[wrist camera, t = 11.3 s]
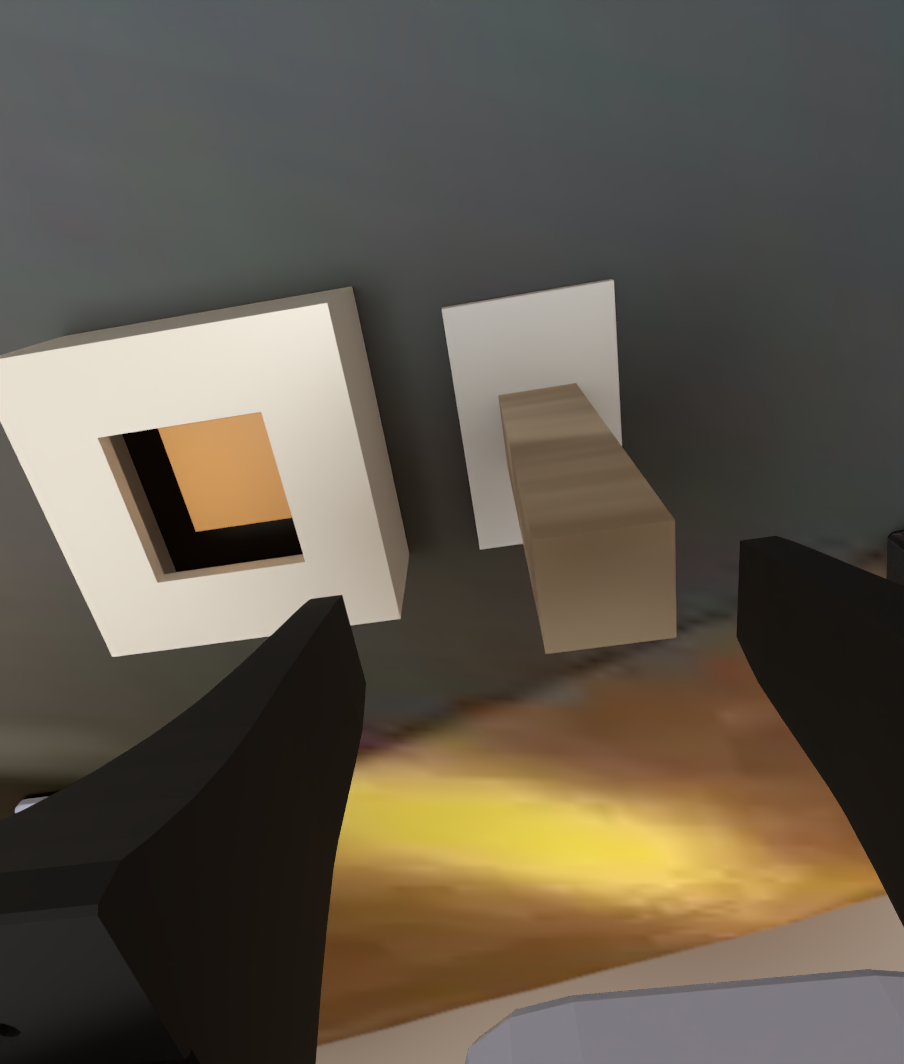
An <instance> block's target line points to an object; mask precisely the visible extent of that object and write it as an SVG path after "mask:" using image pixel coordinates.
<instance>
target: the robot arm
mask: <svg viewBox="0 0 904 1064" xmlns="http://www.w3.org/2000/svg"><path fill="white" fill-rule="evenodd" d="M737 639H738V641H739V643H740V645H741V647H742V650H743V652H744V654H745V656H746V658H747V660H748V663H749V665H750V667H751V669H752V671H753V673H754V675H755V677H756V679H757V681H758V683H759V684H760V686H761V687H762V689H763V690H764V692H765V693H766V695H767V697H768V698H769V700H770V701H771V703H772V704H773V706H774V707H775V709H776V710H777V712H778V713H779V715H780V716H781V718H782V719H783V721H784V722H785V724H786V725H787V726H788V728H789V729H790V731H791V732H792V734H793V735H794V737H795V738H796V740H797V741H798V743H799V744H800V746H801V747H802V749H803V750H804V751H805V753H806V754H807V756H808V757H809V759H810V760H811V762H812V763H813V765H814V766H815V768H816V769H817V771H818V772H819V774H820V775H821V777H822V778H823V780H824V781H825V782H826V784H827V785H828V787H829V788H830V790H831V792H832V793H833V795H834V797H835V798H836V800H837V801H838V803H839V805H840V806H841V808H842V810H843V811H844V813H845V815H846V816H847V818H848V820H849V822H850V824H851V826H852V828H853V830H854V831H855V833H856V835H857V837H858V839H859V841H860V843H861V845H862V846H863V848H864V850H865V852H866V854H867V856H868V858H869V859H870V861H871V863H872V865H873V867H874V869H875V871H876V873H877V875H878V877H879V879H880V881H881V883H882V885H883V887H884V889H885V891H886V893H887V895H888V897H889V899H890V900H891V903H892V904H893V906H894V908H895V911H896V913H897V914H898V917H899V918H900V920H901V922H902V924H903V926H904V586H903V585H900V584H898V583H895V582H892V581H890V580H887V579H885V578H882V577H880V576H877V575H875V574H872V573H870V572H867V571H865V570H862V569H860V568H857V567H855V566H853V565H850V564H848V563H845V562H843V561H840V560H838V559H836V558H833V557H831V556H828V555H826V554H823V553H821V552H819V551H816V550H814V549H811V548H809V547H806V546H804V545H801V544H798V543H796V542H793V541H790V540H787V539H784V538H781V537H777V536H772V537H765V538H758V539H750V540H743V541H740V560H739V586H738V612H737ZM365 688H366V682H365V678H364V674H363V671H362V667H361V663H360V659H359V656H358V652H357V648H356V644H355V641H354V637H353V633H352V630H351V626H350V622H349V618H348V615H347V611H346V607H345V603H344V600H343V596H342V595H336V596H329V597H321V598H314V599H310V600H308V601H307V602H306V603H305V604H304V605H302V606H301V607H300V608H299V609H298V610H297V611H296V612H295V613H294V614H293V615H292V616H291V617H290V618H289V619H288V620H287V621H286V622H285V623H284V624H283V625H281V626H280V627H279V628H278V629H277V630H276V631H275V632H274V633H273V634H272V635H271V636H270V637H269V638H268V639H267V640H266V641H265V642H264V643H263V644H262V645H261V646H260V647H259V648H258V649H257V650H256V651H255V652H254V653H253V654H251V655H250V656H249V657H248V658H247V659H246V660H245V661H244V662H243V663H242V664H241V665H239V666H238V667H237V668H236V669H235V670H234V671H233V672H231V673H230V674H229V675H228V676H227V677H226V678H225V679H223V680H222V681H221V682H220V683H219V684H218V685H217V686H215V687H214V688H213V689H212V690H211V691H210V692H209V693H207V694H206V695H205V696H204V697H202V698H201V699H200V700H199V701H198V702H196V703H195V704H194V705H192V706H191V707H190V708H189V709H187V710H186V711H185V712H183V713H182V714H181V715H179V716H178V717H176V718H175V719H174V720H172V721H171V722H170V723H168V724H167V725H165V726H164V727H163V728H161V729H160V730H159V731H157V732H156V733H154V734H153V735H151V736H150V737H148V738H147V739H145V740H144V741H142V742H140V743H139V744H137V745H136V746H134V747H133V748H131V749H129V750H128V751H126V752H125V753H123V754H121V755H120V756H118V757H117V758H115V759H114V760H112V761H110V762H109V763H107V764H106V765H104V766H102V767H101V768H99V769H98V770H96V771H94V772H93V773H91V774H89V775H87V776H86V777H84V778H82V779H80V780H78V781H77V782H75V783H73V784H71V785H69V786H68V787H66V788H64V789H62V790H60V791H58V792H57V793H55V794H53V795H51V796H48V797H39V798H31V799H24V800H22V801H21V802H20V803H19V804H18V805H17V807H16V808H15V813H16V814H14V815H12V816H10V817H8V818H5V819H3V820H1V821H0V1064H315V1063H316V1050H317V1036H318V1023H319V1010H320V996H321V984H322V973H323V963H324V952H325V942H326V931H327V921H328V912H329V903H330V895H331V886H332V877H333V868H334V862H335V856H336V851H337V845H338V839H339V835H340V830H341V826H342V821H343V817H344V812H345V808H346V803H347V799H348V794H349V790H350V785H351V781H352V776H353V772H354V767H355V763H356V758H357V753H358V749H359V744H360V739H361V734H362V727H363V716H364V704H365ZM465 1064H904V972H897V971H881V970H867V969H866V970H855V971H843V972H832V973H820V974H809V975H798V976H787V977H775V978H764V979H754V980H741V981H731V982H719V983H708V984H696V985H685V986H674V987H663V988H652V989H641V990H629V991H617V992H607V993H596V994H583V995H573V996H568V997H565V998H561V999H556V1000H552V1001H548V1002H544V1003H540V1004H537V1005H533V1006H528V1007H525V1008H521V1009H516V1010H515V1011H513V1012H512V1013H511V1014H509V1015H508V1016H507V1017H505V1018H504V1019H503V1020H501V1021H500V1022H499V1023H497V1024H496V1025H495V1026H493V1027H492V1028H491V1029H489V1030H488V1031H487V1032H485V1033H484V1034H483V1035H481V1036H480V1037H479V1038H478V1039H477V1040H476V1041H475V1042H474V1043H473V1044H472V1045H471V1046H470V1047H469V1048H468V1053H467V1057H466V1062H465Z"/></svg>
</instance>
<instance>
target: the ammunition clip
mask: <svg viewBox="0 0 904 1064" xmlns="http://www.w3.org/2000/svg"><path fill="white" fill-rule="evenodd" d="M887 580H890V581H892V582H895V583H898V584H900V585H903V586H904V531H903V532H898V533H894V534H892V535H891V536H890V537H888V546H887Z"/></svg>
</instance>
